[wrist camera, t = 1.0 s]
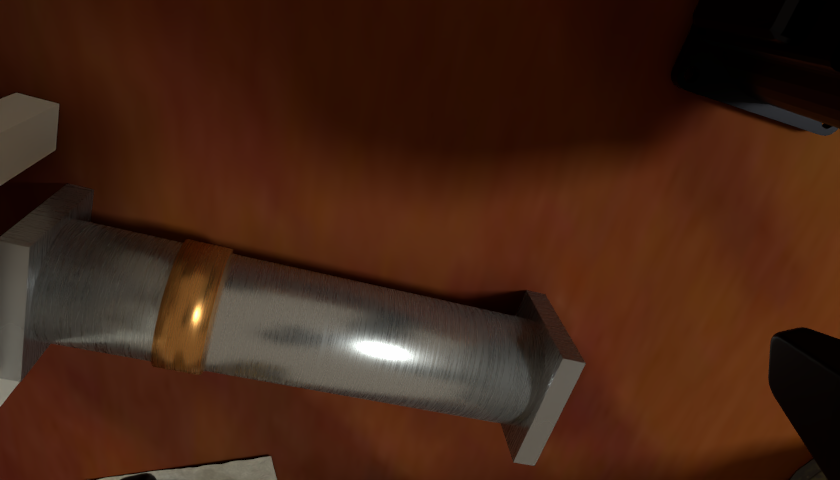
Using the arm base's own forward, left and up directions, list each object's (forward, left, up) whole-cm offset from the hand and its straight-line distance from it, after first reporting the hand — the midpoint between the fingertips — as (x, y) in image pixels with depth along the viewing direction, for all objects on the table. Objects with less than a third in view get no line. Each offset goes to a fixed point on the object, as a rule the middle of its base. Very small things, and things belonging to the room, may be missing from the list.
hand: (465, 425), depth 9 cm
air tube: (+2, +6, -13) cm, 14 cm away
